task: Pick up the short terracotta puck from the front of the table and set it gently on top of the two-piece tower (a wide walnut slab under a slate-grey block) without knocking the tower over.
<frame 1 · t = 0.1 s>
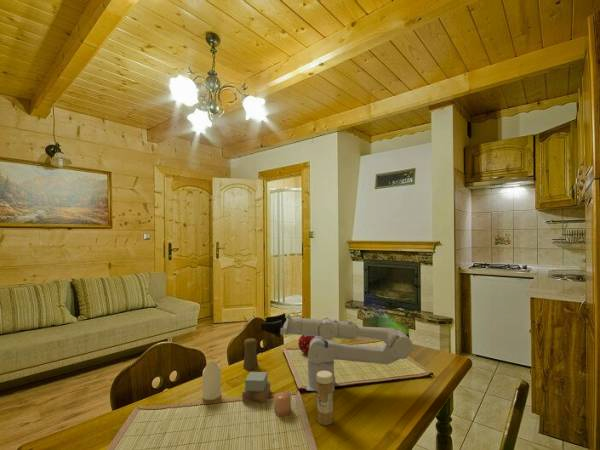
hand: (263, 323, 112), 22 cm above the table, tool horizontal, fingers open, 7 cm apart
walnut slab: (256, 397, 103), on the table, touching slate-grey block
slate-grey block: (256, 386, 103), point 3 cm above the table, touching walnut slab
sprinkles bottle: (325, 421, 89), on the table
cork: (250, 367, 126), on the table
christmas ornament: (308, 353, 139), on the table
cream domed cylinder: (212, 396, 104), on the table
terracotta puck: (282, 411, 94), on the table
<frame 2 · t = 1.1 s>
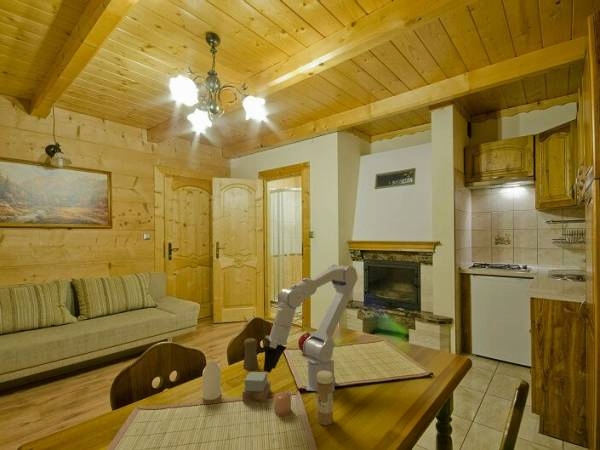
hand: (269, 369, 97), 11 cm above the table, tool tilted 20°, fingers open, 7 cm apart
walnut slab: (257, 396, 104), on the table
slate-grey block: (256, 386, 103), point 3 cm above the table
everything else where it was.
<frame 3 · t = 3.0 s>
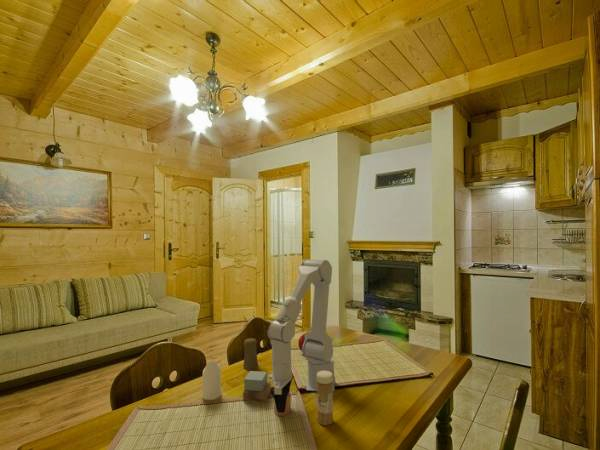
hand: (282, 406, 94), 1 cm above the table, tool pointing down, fingers closed on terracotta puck, 5 cm apart
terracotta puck: (282, 411, 94), on the table, touching gripper
everything else where it was.
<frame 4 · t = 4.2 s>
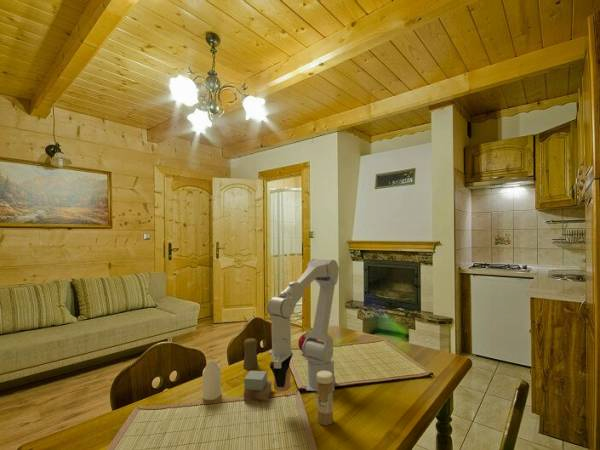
hand: (282, 382, 95), 9 cm above the table, tool pointing down, fingers closed on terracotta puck, 5 cm apart
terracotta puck: (282, 386, 95), point 7 cm above the table, touching gripper
everything else where it was.
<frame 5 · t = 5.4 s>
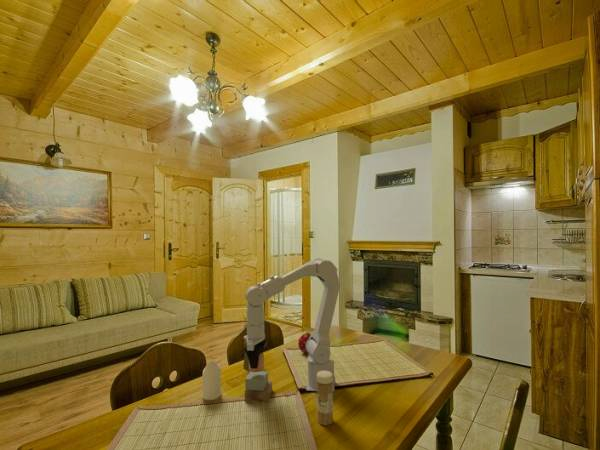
hand: (256, 364, 104), 10 cm above the table, tool pointing down, fingers closed on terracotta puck, 5 cm apart
walnut slab: (258, 396, 104), on the table, touching slate-grey block
slate-grey block: (256, 385, 104), point 3 cm above the table, touching walnut slab
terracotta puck: (256, 368, 104), point 9 cm above the table, touching gripper
everything else where it was.
when the fingers open (9 cm above the table, at t = 6.2 s): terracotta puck stays where it is, resting on slate-grey block.
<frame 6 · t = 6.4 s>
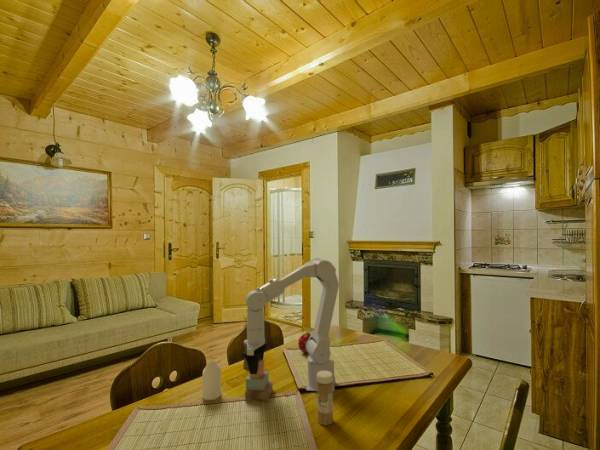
hand: (256, 368, 104), 9 cm above the table, tool pointing down, fingers open, 6 cm apart
slate-grey block: (257, 385, 104), point 3 cm above the table, touching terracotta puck, walnut slab
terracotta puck: (256, 375, 104), point 7 cm above the table, touching slate-grey block
everything else where it was.
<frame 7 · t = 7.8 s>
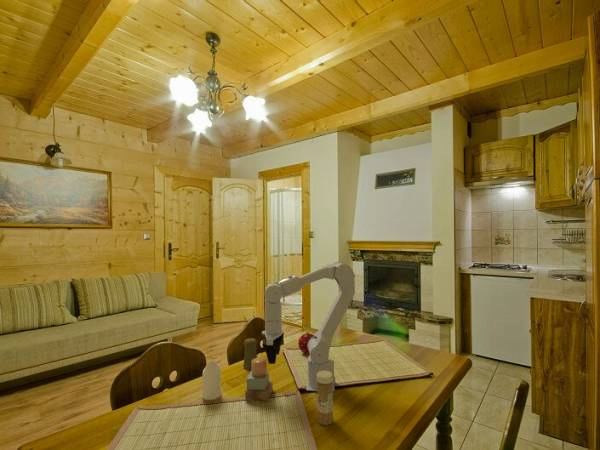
hand: (274, 358, 108), 10 cm above the table, tool pointing down, fingers open, 7 cm apart
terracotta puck: (259, 374, 105), point 7 cm above the table, touching slate-grey block
everything else where it was.
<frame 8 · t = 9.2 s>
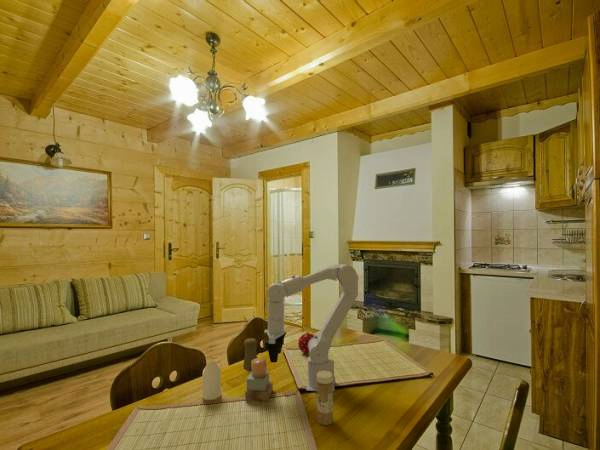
hand: (275, 357, 109), 10 cm above the table, tool pointing down, fingers open, 7 cm apart
slate-grey block: (258, 385, 104), point 3 cm above the table, touching walnut slab
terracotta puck: (259, 374, 104), point 7 cm above the table
everything else where it was.
at the end: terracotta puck 0.6 cm off-centre on the slate-grey block, point 3.5 cm above the slate-grey block's base; slate-grey block 0.4 cm from the walnut slab (horizontally); slate-grey block tilted 0° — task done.
